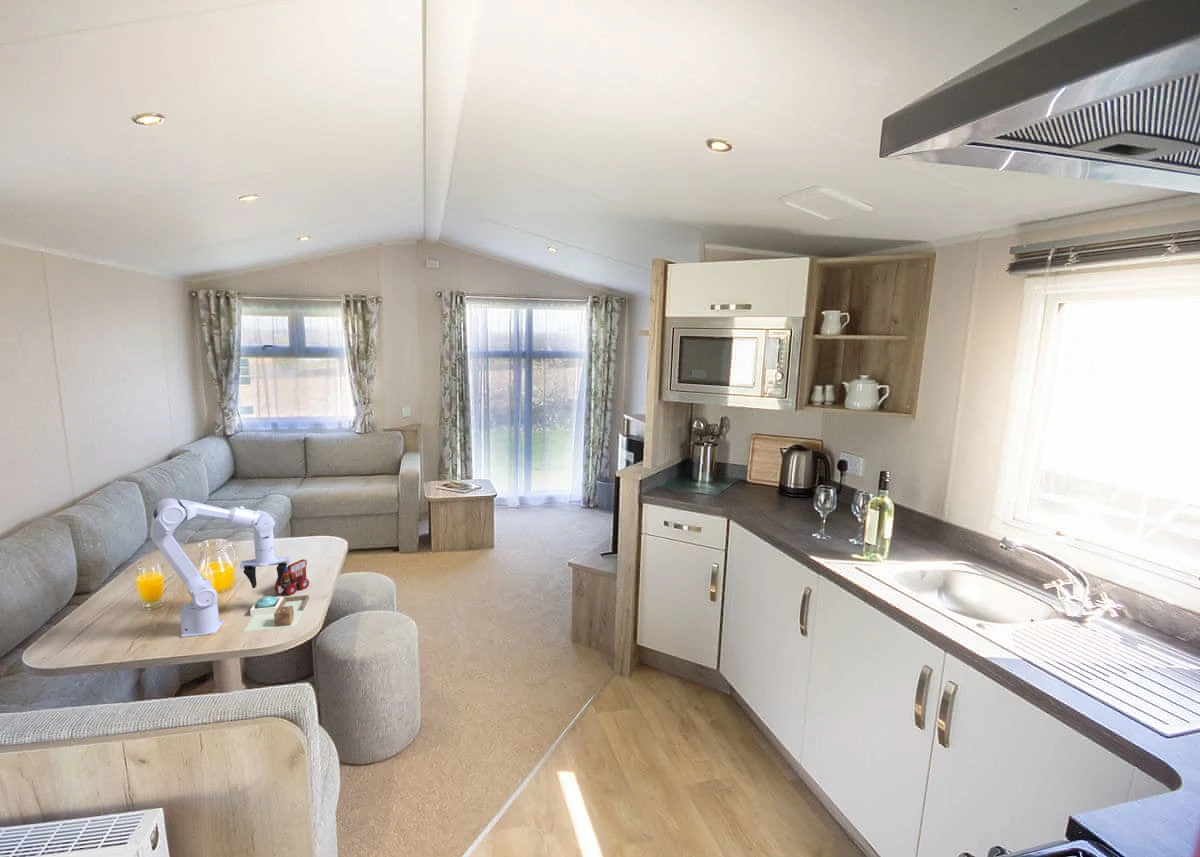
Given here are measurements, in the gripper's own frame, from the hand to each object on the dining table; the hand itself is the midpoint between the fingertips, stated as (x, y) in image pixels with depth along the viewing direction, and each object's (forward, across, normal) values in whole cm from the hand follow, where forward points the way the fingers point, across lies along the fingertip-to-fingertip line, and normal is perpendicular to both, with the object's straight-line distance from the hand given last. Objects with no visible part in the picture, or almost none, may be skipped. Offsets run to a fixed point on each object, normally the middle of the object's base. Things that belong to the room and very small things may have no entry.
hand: (267, 585), depth 187 cm
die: (+9, +7, -11) cm, 15 cm away
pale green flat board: (+9, +4, -4) cm, 11 cm away
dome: (+8, -1, +1) cm, 8 cm away
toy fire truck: (+10, +4, +16) cm, 19 cm away
